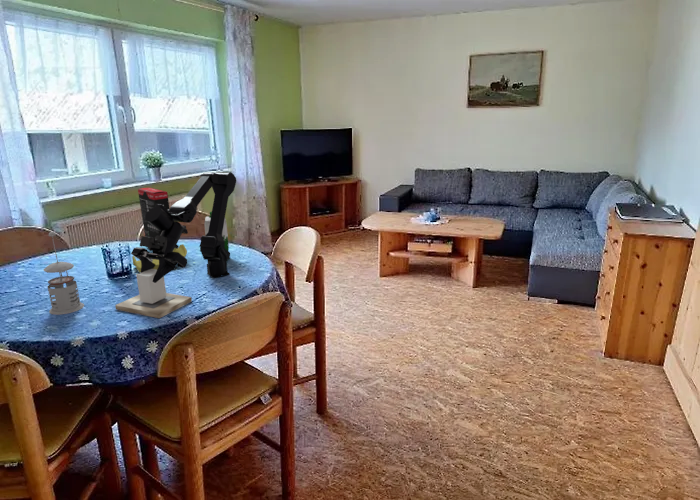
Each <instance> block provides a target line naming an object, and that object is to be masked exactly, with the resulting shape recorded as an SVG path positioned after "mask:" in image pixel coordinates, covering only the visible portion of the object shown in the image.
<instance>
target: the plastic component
mask: <svg viewBox="0 0 700 500" xmlns="http://www.w3.org/2000/svg"><path fill="white" fill-rule="evenodd" d="M178 246H179V247H178V249H175V248H174V250H173V252H178V253H180V254H181V255H182V256H184V257H185V258H186V257H187V254H188V250H187V248H186V247H185V245H184V244H180V245H178ZM156 257H157V256H156ZM131 259H132V265H133V266H134V267H135V268H136V270H137V272H138V273H141V261H140V260H139V259H138V260H137V258H136V257H135V256H133V255H132V258H131ZM152 262H153V263H154V264H155V265H156V266H155V267H154V268H153V269H156V270H157V269H158V267H159V260H156V259H153V261H152Z"/></svg>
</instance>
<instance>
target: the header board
mask: <svg viewBox="0 0 700 500" xmlns="http://www.w3.org/2000/svg"><path fill="white" fill-rule="evenodd" d="M166 295H167V297H166V298H164V299H161V300H159V301H157V302H155V303H153V304H151V303H145V302H140V295H139V294H137V295H135V296H133V297H131V298H128V299H126V300H124V301H122V302H119V303H117V304H115V305H114V307H115V310H117V311H120V312H121V311H122V312H126V313H131V314H135V315H141V316H146V317H151V318H156V319H161V318H163V317H165V316H166V315H168V314H171V313H172V312H174V311H177V310H178V309H180V308H182V307H185V306H186V305H188V304H190V303H192V302H193V299H192V297H191V296H185V295H181V294H174V293H169V292H166Z"/></svg>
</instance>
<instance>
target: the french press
mask: <svg viewBox="0 0 700 500" xmlns="http://www.w3.org/2000/svg"><path fill="white" fill-rule="evenodd" d="M47 236H48V237H51V238H52V243H53V248H54V254H55V258H56V262H52V263H49V264H48V265H47V266H46V267H44V268H43V271H44V272H45V273H49V274H53V273H59V276H57V277H53V278H51V279H49V280H48V281H47V283H48V285H47V291H48V295H49V296H48V297H49V299H50V305H51V308H50V309H49V311H48V314H51V315H55V316H56V315H57V316H59V315H67V314H71V313H75V312H77V311H79V310H82V309H83V308H84V307H85V304H84V303H83V302H81V300H80V299H81V298H80V294H79V288H78V285H77V281H76V280H75V276H72V275H69V274H68V273H69V272H68V271H70V270H72V269H73V268H74V264H73V263H71V262H67V261H59V260H58V255H57V250H56V245H55V242H54V241H55V240H54V237H56V236H57V234H56V232H54V231H50V232H49V233H48V235H47ZM65 272H66V275H63V274H62V273H65ZM64 285H66V286H64ZM52 296H53V297H52Z"/></svg>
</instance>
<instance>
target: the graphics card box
mask: <svg viewBox="0 0 700 500" xmlns="http://www.w3.org/2000/svg"><path fill="white" fill-rule="evenodd" d="M137 192H138V199H139V206H140V213H141V218H142V225H143V230H144V236H145V237H152V238H155V237H156V236H157V235H158V236H160V235H161V233H162V231H159V230H157V229H156V228H155V227H154V226H153V225H151V224H150V223H149V222H148V221H147V220H146V219H145V215H146V213H147V212H148V211H149V210H150V209H152V208H154V207H155V206H156V205H157V204H162V205H163V206H164V207H165V209H166V210H169V209H170V201H169V195H168V191H166V190H161V189H157V188H153V187H143V188H142V187H141V188H137Z"/></svg>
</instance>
